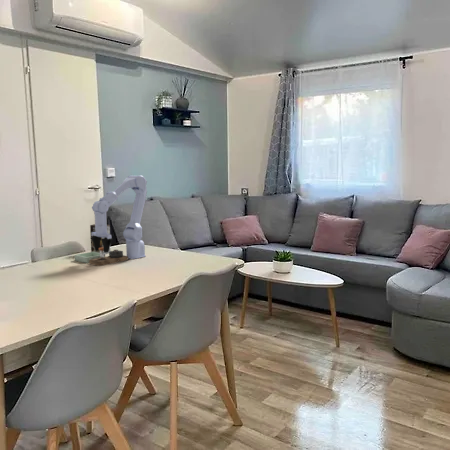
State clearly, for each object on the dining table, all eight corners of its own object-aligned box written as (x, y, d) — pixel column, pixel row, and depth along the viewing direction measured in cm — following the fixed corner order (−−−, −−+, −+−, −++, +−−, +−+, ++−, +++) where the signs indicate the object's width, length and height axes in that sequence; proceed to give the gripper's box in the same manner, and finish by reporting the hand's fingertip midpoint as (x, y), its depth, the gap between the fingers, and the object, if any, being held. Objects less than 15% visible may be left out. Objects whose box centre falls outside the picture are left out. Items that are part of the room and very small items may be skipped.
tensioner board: (118, 257, 251) (118, 247, 251) (128, 259, 246) (127, 249, 246) (89, 263, 238) (89, 253, 237) (98, 265, 233) (98, 255, 232)
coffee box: (90, 253, 263) (89, 225, 261) (97, 251, 270) (95, 223, 267) (105, 254, 261) (103, 225, 259) (111, 252, 267) (110, 224, 265)
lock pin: (103, 262, 241) (102, 246, 240) (107, 263, 239) (106, 247, 238) (98, 263, 239) (97, 247, 238) (101, 264, 237) (101, 248, 236)
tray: (93, 257, 254) (92, 251, 254) (105, 259, 247) (105, 254, 246) (74, 260, 246) (74, 254, 245) (86, 263, 238) (86, 257, 238)
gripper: (85, 224, 238) (86, 250, 240) (102, 227, 229) (103, 254, 231) (97, 223, 243) (98, 248, 245) (114, 225, 234) (115, 252, 236)
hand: (101, 251), depth 238 cm, fingers open, 7 cm apart
